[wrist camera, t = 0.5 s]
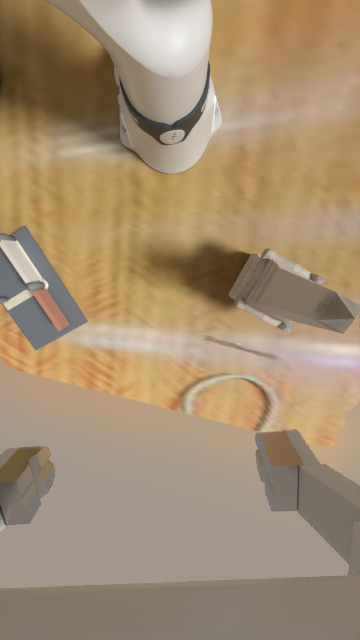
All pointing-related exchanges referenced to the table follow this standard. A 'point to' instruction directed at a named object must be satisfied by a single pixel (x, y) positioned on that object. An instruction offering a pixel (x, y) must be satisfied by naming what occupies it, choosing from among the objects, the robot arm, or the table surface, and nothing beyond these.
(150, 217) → the table surface
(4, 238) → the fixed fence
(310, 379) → the table surface
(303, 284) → the miniature monument
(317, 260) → the table surface
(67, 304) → the card
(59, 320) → the fence panel
